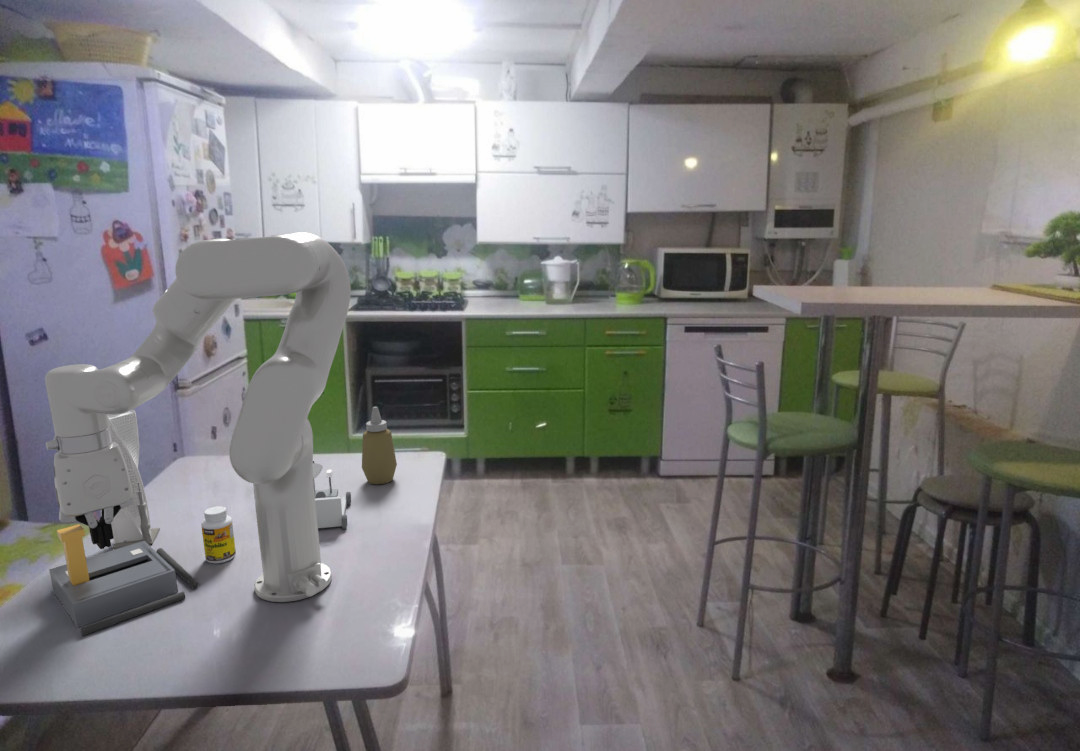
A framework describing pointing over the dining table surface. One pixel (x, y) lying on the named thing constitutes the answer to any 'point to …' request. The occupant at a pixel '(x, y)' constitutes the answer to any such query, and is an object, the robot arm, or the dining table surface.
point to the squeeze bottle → (378, 451)
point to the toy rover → (330, 503)
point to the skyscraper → (135, 517)
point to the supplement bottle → (218, 535)
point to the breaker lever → (74, 553)
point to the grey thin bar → (132, 613)
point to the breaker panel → (115, 583)
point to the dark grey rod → (178, 568)
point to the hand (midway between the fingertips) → (103, 545)
